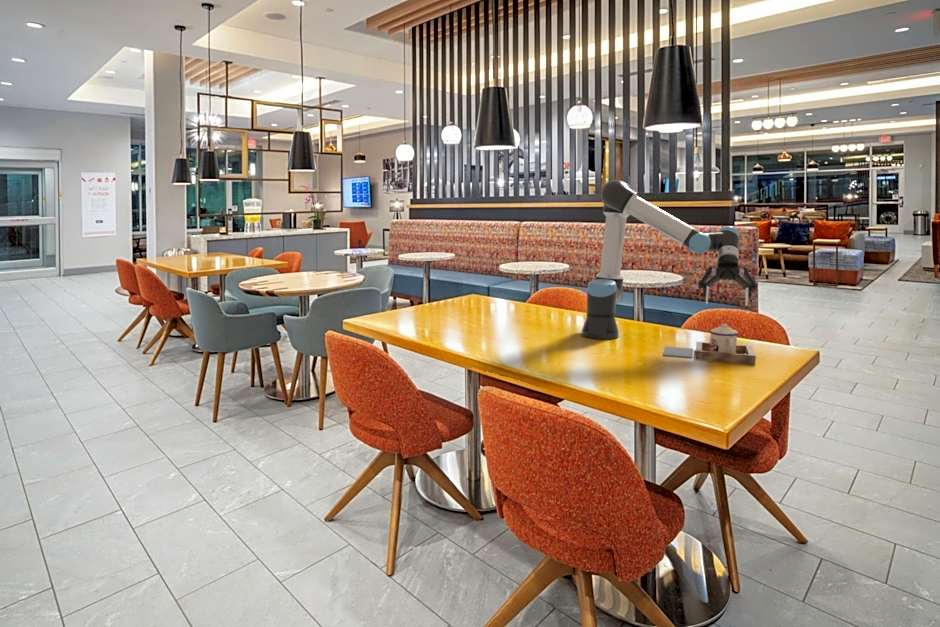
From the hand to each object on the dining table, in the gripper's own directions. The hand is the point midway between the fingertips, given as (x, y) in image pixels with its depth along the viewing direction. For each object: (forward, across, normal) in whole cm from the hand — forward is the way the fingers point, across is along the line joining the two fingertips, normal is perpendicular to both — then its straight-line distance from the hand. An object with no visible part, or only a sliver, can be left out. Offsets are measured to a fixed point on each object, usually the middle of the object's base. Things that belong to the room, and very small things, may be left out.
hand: (726, 302), depth 217 cm
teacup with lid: (+20, 0, +6) cm, 21 cm away
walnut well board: (+20, 0, +5) cm, 21 cm away
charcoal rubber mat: (+20, -16, +5) cm, 26 cm away
